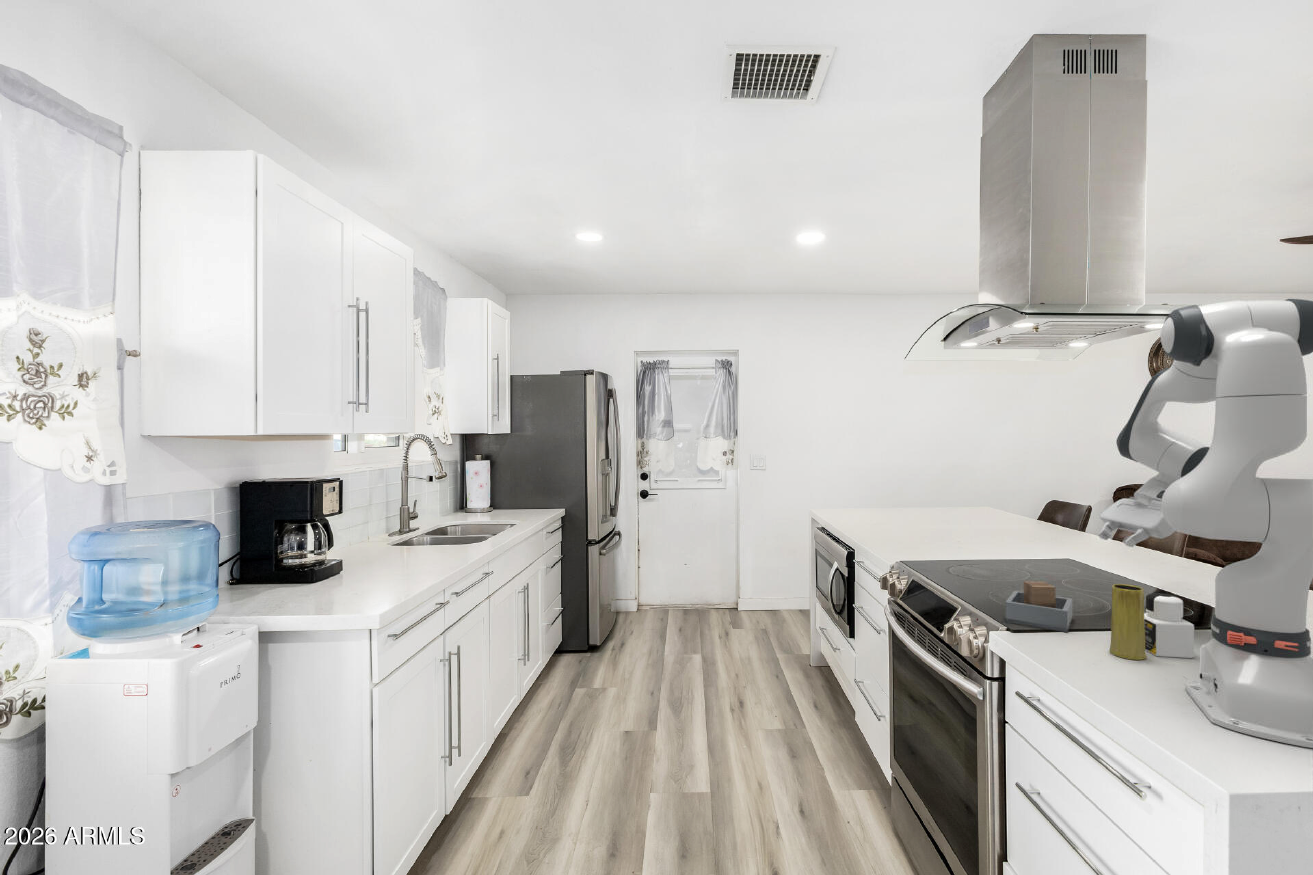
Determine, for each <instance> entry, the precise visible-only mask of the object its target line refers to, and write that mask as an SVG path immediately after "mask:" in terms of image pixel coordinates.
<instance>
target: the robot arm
mask: <svg viewBox="0 0 1313 875" xmlns="http://www.w3.org/2000/svg"><path fill="white" fill-rule="evenodd" d="M1160 343H1161V346H1162V349H1163V352H1164V354H1165V355H1166V356H1167V357H1169V358H1170V359H1172V360H1173V361H1172V364H1171V366H1170V367H1168V368H1163V369H1160V371H1158V372H1157V373H1155V374H1154V375H1153V376H1152V377H1151V378H1150V380H1149V381H1148V382H1147V384H1146V385H1145V388H1144V389H1143V391H1142V393H1141V394H1140V397H1139V399H1138V400H1137V403H1136V405H1135V407H1134V408H1133V410H1132V413H1131V415H1130V416H1129V419H1128V420H1127V423H1126V424H1125V425H1124V426H1123V428H1122V429H1121V430H1120V432H1119V434H1118V436H1117V438H1116V440H1115V441H1116V448H1117V450H1118V452H1119V454H1120V456H1122V457H1123V458H1126V459H1128V460H1131V461H1133V462H1135V463H1139V464H1141V465H1144V466H1145V467H1147V468H1149V469H1151V470H1154V471H1155V472H1157V474H1156V475H1155V476H1152V477H1151V478H1149V479H1148V480H1147V481H1146V482H1145V483H1144V484H1143V485H1141V487H1139V489H1137V490H1136V491H1135V492H1134V493H1133V496H1130V497H1129V498H1126V497H1125V498H1121V499H1119V500H1117V501H1115V502H1114V503H1113V504H1111V505H1110V506H1109V507H1107V508H1106V509H1105V510H1104V511H1103V512H1102V513H1101V514H1100V516H1099V518H1100V520H1101V521H1102V522H1104V525H1103V526H1102V529H1101V530H1100V532H1098V533H1097V536H1098V537H1099V538H1100V539H1101V540H1104V541H1107V540H1108V539H1110V538H1111V537H1112V535H1111V534H1112V532H1114V531H1116V530H1118V529H1119V530H1121V531H1122V530H1123V531H1127V532H1132V535H1129V536H1126V537H1125V538H1124V539H1123V540H1122V543H1123V544H1124V545H1125V546H1126V547H1128V548H1129V547H1130V548H1134V547H1135V546H1136V545H1137V544H1138V543H1141V542H1143V541H1145V540H1148V539H1149V537H1152V538H1157V539H1161V540H1162V539H1165V538H1167V537H1170V536H1171V535H1173V533H1175V532H1177V533H1181V534H1185V535H1190V536H1194V537H1199V538H1202V539H1203V538H1204V539H1209V540H1222V541H1223V540H1224V541H1235V542H1236V541H1237V542H1238V541H1239V542H1240V541H1241V542H1252V543H1253V542H1254V543H1255V542H1256V543H1261V544H1262V545H1261V547H1260V550H1259V551H1257V553H1256V554H1254V555H1253V556H1252V557H1250V558H1247V559H1244V560H1243V559H1242V560H1240V561H1236V562H1232V563H1230V564H1228V565H1226V566H1224V567H1223V568H1221V569H1220V570H1219V571H1218V573H1216V575H1215V576H1216V577H1215V580H1214V588H1215V589H1214V591H1215V592H1214V605H1215V606H1214V607H1215V608H1214V614H1213V615H1212V616H1211V622H1210V628H1211V636H1212V638H1211V640H1209V641H1208V642H1206V643H1204V644H1202V645H1200V653H1199V678H1198V679H1199V681H1198V682H1188V683H1186V684H1185V691H1186V692H1187V693H1188V695H1189V696H1190V698H1191V699H1192V700H1193V701H1194V702H1195V703H1196V705H1197V706H1198V708H1199V709H1200V710H1201V711H1202V712H1203V713H1204V715H1205V716H1206V717H1207V719H1208V720H1209V721H1210V722H1211V723H1213V724H1216V725H1217V726H1220V727H1223V728H1226V729H1228V730H1232V731H1235V732H1239V733H1241V734H1245V735H1249V736H1253V737H1256V738H1257V737H1258V738H1261V739H1266V740H1270V741H1274V742H1275V741H1276V742H1279V743H1284V744H1289V745H1293V746H1297V747H1298V746H1300V747H1305V748H1311V749H1313V658H1312V657H1311V656H1310V655H1311V654H1312V650H1311V645H1312V638H1311V634H1310V630H1309V629H1308V628H1307V612H1308V611H1307V610H1308V600H1309V592H1310V586H1311V583H1312V580H1313V479H1311V478H1310V479H1308V478H1306V479H1305V478H1279V477H1278V478H1275V477H1274V478H1271V477H1270V478H1269V477H1258V476H1257V472H1258V470H1259V468H1260V466H1261V465H1262V464H1263V463H1264V462H1266V461H1269V460H1272V459H1274V458H1275V459H1276V458H1277V457H1280V456H1281V457H1282V456H1284V455H1287V454H1289V453H1291V452H1293V451H1295V450H1297V449H1298V448H1300V447H1301V445H1303V443H1304V442H1305V440H1306V438H1307V436H1308V395H1307V394H1308V386H1307V376H1306V375H1307V374H1306V369H1305V368H1306V367H1305V363H1304V359H1303V357H1304V356H1308V355H1310V354H1312V353H1313V300H1308V299H1302V298H1301V299H1299V298H1287V299H1285V300H1278V299H1277V300H1273V299H1272V300H1268V299H1267V300H1265V299H1264V300H1263V299H1262V300H1241V299H1240V300H1232V301H1230V300H1229V301H1223V302H1215V303H1208V304H1202V305H1199V306H1198V305H1196V304H1193V305H1186V306H1184V307H1180V308H1177V309H1174V310H1172V311H1171V312H1170V313H1169V314H1168V315H1167V316H1166V318H1165V320H1164V323H1163V325H1162V327H1161V331H1160ZM1167 402H1169V403H1170V402H1171V403H1183V404H1193V405H1195V404H1207V403H1211V402H1215V404H1214V405H1215V414H1214V426H1213V436H1212V439H1211V444H1210V445H1208V444H1205V443H1202V442H1201V441H1197V440H1195V439H1193V438H1190V437H1189V436H1185V435H1183V434H1181V433H1178V432H1175V431H1174V430H1172V429H1169V428H1166V427H1165V426H1164V425H1162V424H1161V423H1160V422H1159V420H1158V419H1159V417H1160V415H1161V413H1162V411H1163V409H1164V407H1165V406H1166V403H1167ZM1133 533H1134V534H1133Z"/></svg>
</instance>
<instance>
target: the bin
mask: <svg viewBox="0 0 1313 875" xmlns="http://www.w3.org/2000/svg"><path fill="white" fill-rule="evenodd" d="M1055 603H1056V608H1050V607H1043V606H1036V605H1030V604H1024V591H1018V590H1014V591H1013V592H1012V593H1011V594H1010V596H1009V597H1008V598H1007V599H1006V601H1005V623H1008V624H1014V623H1015V624H1014V625H1020V626H1025V627H1026V626H1027V627H1033V628H1036V629H1037V628H1039V629H1042V630H1043V629H1045V630H1052V631H1056V632H1062V633H1069V630H1070V627H1071V624H1072V622H1073V619H1074V618H1073V616H1074V615H1073V607H1074V606H1073V604H1074V603H1073V598H1067V597H1062V596H1055ZM1072 618H1073V619H1072ZM1071 621H1072V622H1071ZM1070 623H1071V624H1070ZM1069 626H1070V627H1069Z"/></svg>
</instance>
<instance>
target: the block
mask: <svg viewBox="0 0 1313 875" xmlns="http://www.w3.org/2000/svg"><path fill="white" fill-rule="evenodd" d="M1023 592H1024V604H1030V605H1036V606H1043V607H1050V608H1056V603H1055V597H1056V586H1054V585H1053V584H1050V583H1048V582H1046V581H1023Z"/></svg>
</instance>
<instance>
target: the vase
mask: <svg viewBox="0 0 1313 875" xmlns="http://www.w3.org/2000/svg"><path fill="white" fill-rule="evenodd" d="M1144 591H1145V590H1144V588H1143V587H1141V586H1138V585H1132V584H1126V583H1125V584H1124V583H1115V584H1113V585H1112V586H1111V621H1110V622H1111V627H1110V645H1109V652H1110V654H1112V655H1113V656H1114V657H1115V656H1116V657H1119V658H1121V659H1126V660H1131V661H1132V660H1133V661H1142V660H1145V659H1147V655H1146V650H1145V621H1144V613H1145V592H1144Z"/></svg>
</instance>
